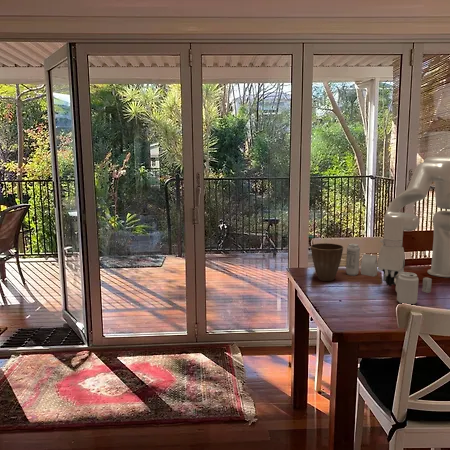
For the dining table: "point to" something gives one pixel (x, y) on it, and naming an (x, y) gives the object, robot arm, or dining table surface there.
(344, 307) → the dining table surface
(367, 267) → the tea bag
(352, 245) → the energy drink can
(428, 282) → the post
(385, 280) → the hinge mount
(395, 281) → the gate
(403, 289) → the can
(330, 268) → the plant pot
